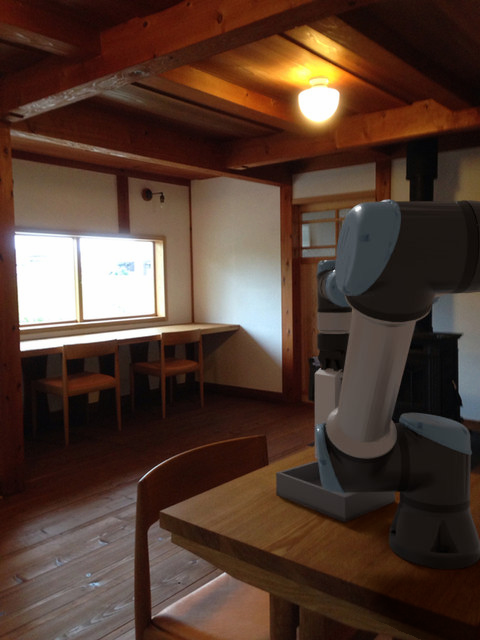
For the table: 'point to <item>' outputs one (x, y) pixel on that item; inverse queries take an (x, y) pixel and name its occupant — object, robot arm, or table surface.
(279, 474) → the bin
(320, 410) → the milk
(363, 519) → the table surface
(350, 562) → the table surface
